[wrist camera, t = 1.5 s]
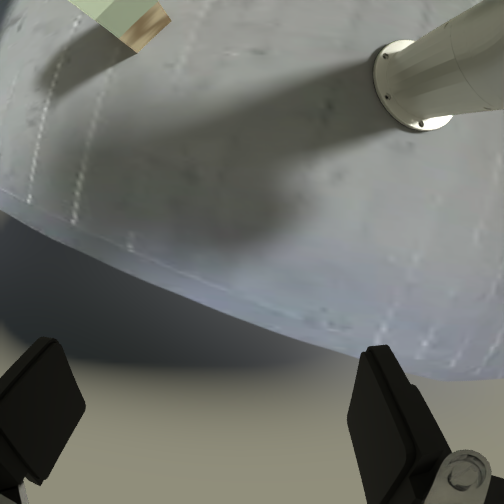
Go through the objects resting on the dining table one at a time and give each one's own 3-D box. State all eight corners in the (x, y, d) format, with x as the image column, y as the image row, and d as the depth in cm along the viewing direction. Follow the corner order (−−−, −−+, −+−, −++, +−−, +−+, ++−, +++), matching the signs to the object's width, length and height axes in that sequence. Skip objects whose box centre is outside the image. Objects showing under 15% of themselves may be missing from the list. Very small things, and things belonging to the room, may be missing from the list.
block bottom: (143, 1, 28) (127, -19, 23) (171, 20, 30) (158, 1, 24) (111, 32, 30) (91, 17, 24) (137, 53, 31) (118, 38, 25)
